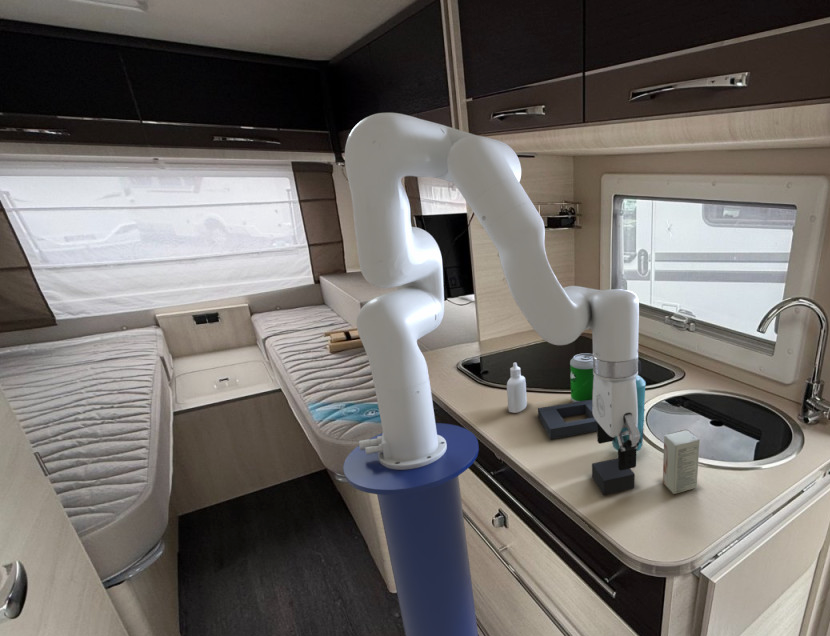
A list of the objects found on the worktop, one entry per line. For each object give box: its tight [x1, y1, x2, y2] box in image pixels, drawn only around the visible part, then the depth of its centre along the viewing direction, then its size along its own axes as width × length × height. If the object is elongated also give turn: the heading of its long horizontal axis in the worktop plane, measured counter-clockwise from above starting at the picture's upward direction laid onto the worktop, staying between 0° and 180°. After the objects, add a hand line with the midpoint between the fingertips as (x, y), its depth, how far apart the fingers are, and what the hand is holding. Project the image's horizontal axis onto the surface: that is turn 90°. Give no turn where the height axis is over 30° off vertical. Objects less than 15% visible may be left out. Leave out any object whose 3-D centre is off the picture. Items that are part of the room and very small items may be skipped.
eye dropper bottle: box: [506, 362, 528, 414], centre depth 113 cm, size 4×6×12 cm
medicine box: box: [662, 428, 701, 495], centre depth 84 cm, size 5×4×10 cm
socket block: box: [537, 400, 599, 440], centre depth 108 cm, size 15×11×2 cm
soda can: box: [569, 352, 594, 403], centre depth 117 cm, size 8×8×12 cm
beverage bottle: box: [611, 359, 647, 452], centre depth 93 cm, size 6×7×20 cm
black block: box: [591, 457, 636, 496], centre depth 86 cm, size 6×6×3 cm
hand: (615, 454), depth 84 cm, fingers open, 9 cm apart
